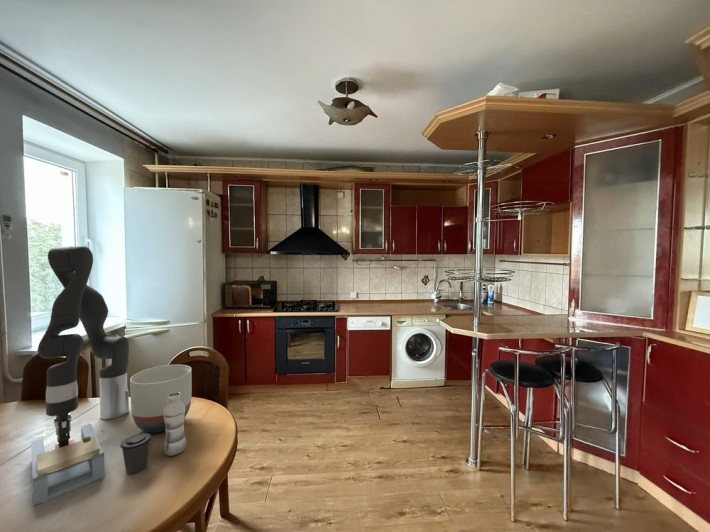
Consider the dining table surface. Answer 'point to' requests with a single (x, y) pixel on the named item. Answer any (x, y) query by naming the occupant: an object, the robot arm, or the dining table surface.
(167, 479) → the dining table surface
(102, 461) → the stand
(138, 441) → the coffee cup
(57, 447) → the block
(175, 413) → the plastic bottle
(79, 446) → the lid
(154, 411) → the planter
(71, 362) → the robot arm
